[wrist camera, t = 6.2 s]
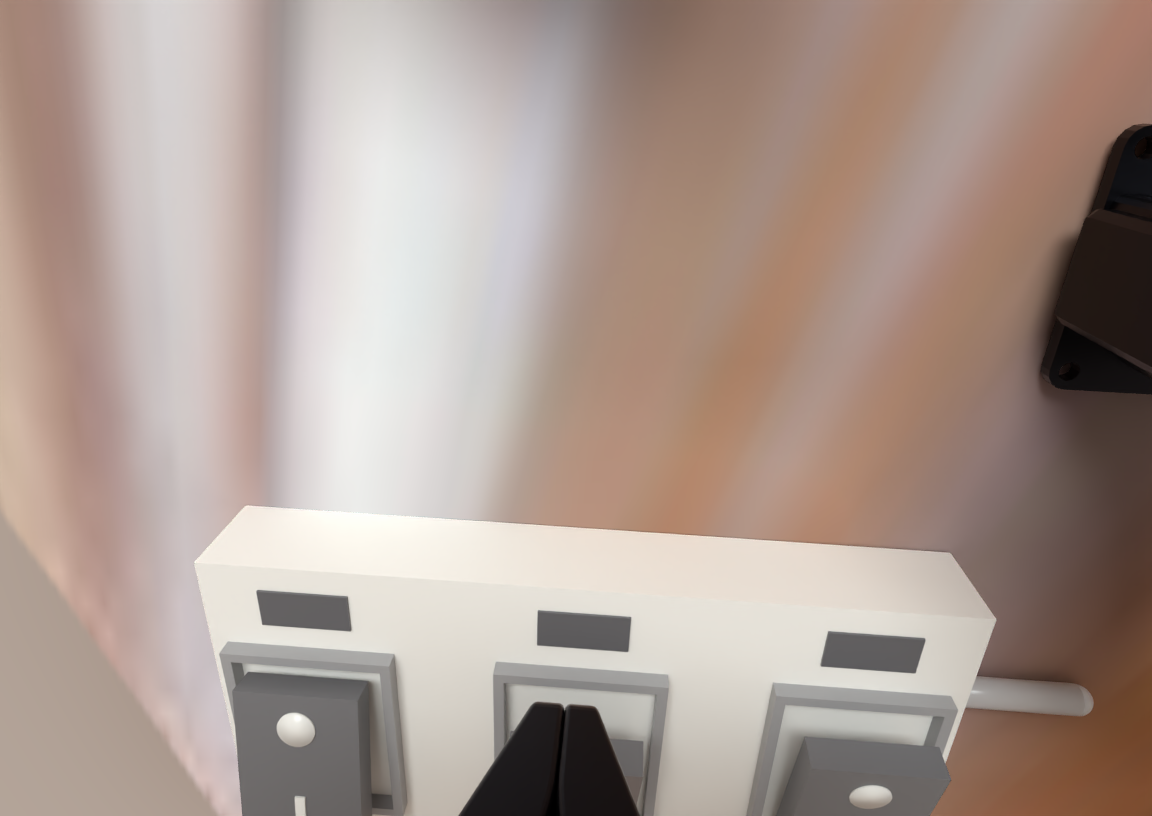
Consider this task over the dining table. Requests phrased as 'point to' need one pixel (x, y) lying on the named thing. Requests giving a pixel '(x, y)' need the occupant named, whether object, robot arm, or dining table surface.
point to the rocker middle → (629, 762)
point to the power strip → (606, 646)
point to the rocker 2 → (864, 779)
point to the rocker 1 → (303, 745)
